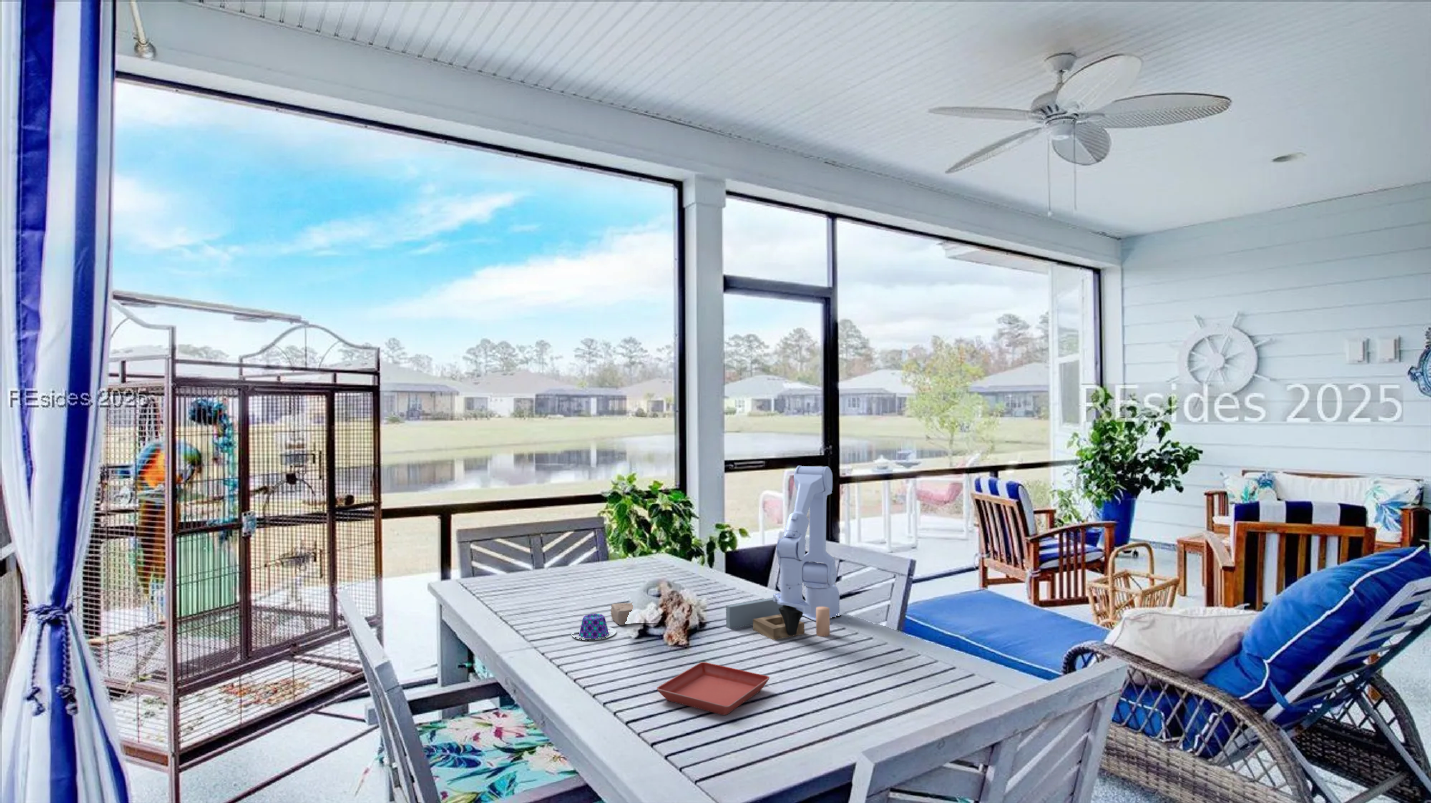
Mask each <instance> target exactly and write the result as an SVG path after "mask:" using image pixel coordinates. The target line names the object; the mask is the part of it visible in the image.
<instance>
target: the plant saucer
mask: <svg viewBox="0 0 1431 803" xmlns="http://www.w3.org/2000/svg"><path fill="white" fill-rule="evenodd" d="M770 678H771V677H770V676H769V675H764V674H760V673H756V672H751V671H747V670H742V669H737V668H733V667H729V666H723V665H719V664H715V663H710V662H706V661H702V662H699V663H697V664H696V665H694V666H691V667H690V668H689V669H687V670H684V671H683V672H681V673H680V674H678V675H676V676H674V677H673V678H671V679H669V680H668V681H665V682H664V683H663V684H660V685H659V686H657V687H656V690H657V691H658V693H659V694H660V695H661V696H662V697H663V698H665V699H666V700H667V701H668V702H672V703H675V702H676V703H675V704H678V705H679V704H680V705H683V706H687V707H692V708H694V709H699V710H702V711H707V712H711V713H714V714H718V715H721V716H722V715H723V716H727V715H728V714H729V713H731V712H733V711H735V709H737V708H738V707H740V706H741V705H743V703H745V702H747V701H748V700H749V699H751V698H753V697H754V696H756V695H757V694H759V693H760V691H761V690H762V689H763V688H764V687H765V686H766V684H767V683H768V681H770Z"/></svg>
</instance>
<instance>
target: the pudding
mask: <svg viewBox="0 0 1431 803" xmlns="http://www.w3.org/2000/svg"><path fill="white" fill-rule="evenodd" d="M579 629H580V632H579V634H578V637H579V636H581V637H580V638H582V637H584V638H591V639H595V640H594V641H597V640H599V641H600V638H598V637H605V636H606V638H602V639H601V640H603V639H607V638H610V637H612V636H614V635H615V634H616V633H617V630H616V629H615V628H614V627H611V626H608V625H607V621H606V617H605V615H603V614H602V613H589V614H586V615H584V616H583V618H582V620H581V624H580V627H579V628H577V629H575V630H573V631H572V632H571V636H572V637H573V638H575V636H573V635H572V634H574V632H578V631H579ZM608 629H610V631H609V632H613V633H611V634H612V635H610V636H608V635H607V634H610V633H609V632H608ZM607 636H608V637H607ZM596 638H598V639H596ZM575 639H578V640H580V639H579V638H575ZM582 641H586V640H585V639H583V638H582Z"/></svg>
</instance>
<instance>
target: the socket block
mask: <svg viewBox="0 0 1431 803" xmlns="http://www.w3.org/2000/svg"><path fill="white" fill-rule="evenodd" d="M752 630H753V631H754V632H756V633H758V634H761V635H762V636H765V637H766V638H768V639H770V640H773V641H777V640H782V639H787V638H791V637H796V636H802V635H805V634H806V633H805V632H806V631H805V622H803V621H801V620H800V621H799V625H798V629H797V633H796V635H791V636H790V635H788V634H787V631H786V627H785V623H784V620H783V617H782V615H781V614H779V615H773V616H768V617H762V618H757V619H753V625H752Z"/></svg>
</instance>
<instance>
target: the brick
mask: <svg viewBox="0 0 1431 803" xmlns="http://www.w3.org/2000/svg"><path fill="white" fill-rule="evenodd" d="M632 603H633V602H629V603H627V602H623V603H622V602H620V603H612V604H611V608H610V616H611V620H612V621H613V622H614V623H616V624H617V625H618V624H619V625H618V626H625V625H624V624H625V622H626V621H627V617H628V615H629V612H631V611H632V609H633V605H632Z"/></svg>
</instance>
